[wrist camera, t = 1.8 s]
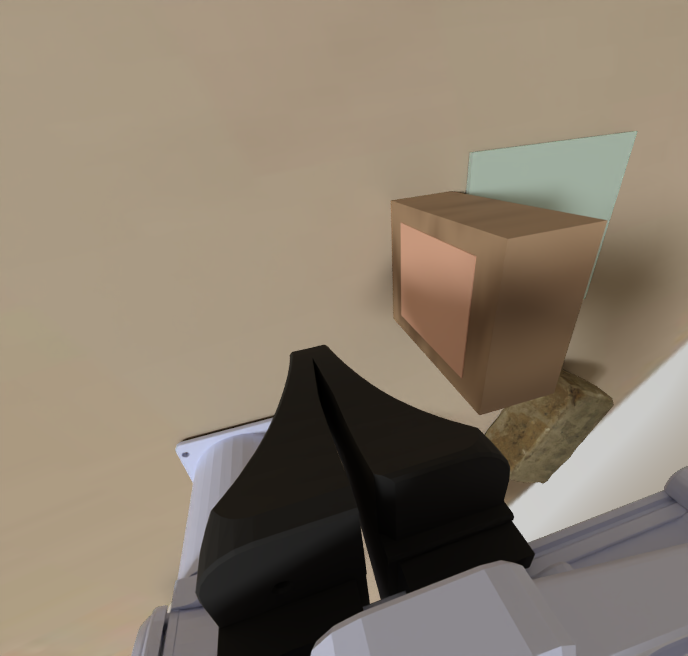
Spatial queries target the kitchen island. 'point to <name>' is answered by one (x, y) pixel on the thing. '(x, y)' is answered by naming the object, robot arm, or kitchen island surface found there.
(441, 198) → the walnut block
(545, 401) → the stone block
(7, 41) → the kitchen island surface
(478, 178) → the mat
